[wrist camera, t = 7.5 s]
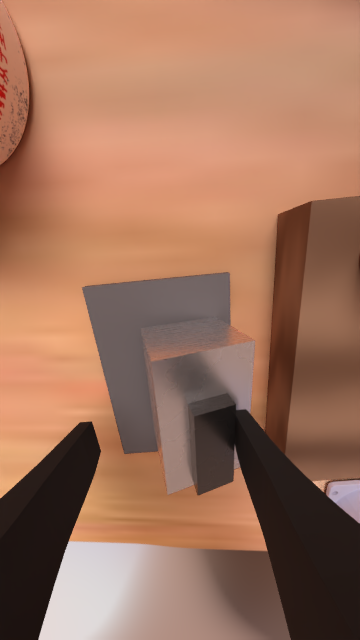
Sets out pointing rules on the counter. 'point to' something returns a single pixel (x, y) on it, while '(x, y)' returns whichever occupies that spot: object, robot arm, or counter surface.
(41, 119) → the counter surface
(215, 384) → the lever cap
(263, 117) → the counter surface
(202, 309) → the rubber mat
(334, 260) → the body
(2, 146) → the teacup with lid
